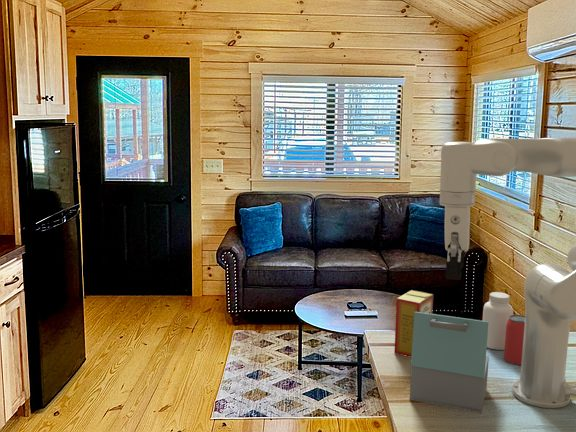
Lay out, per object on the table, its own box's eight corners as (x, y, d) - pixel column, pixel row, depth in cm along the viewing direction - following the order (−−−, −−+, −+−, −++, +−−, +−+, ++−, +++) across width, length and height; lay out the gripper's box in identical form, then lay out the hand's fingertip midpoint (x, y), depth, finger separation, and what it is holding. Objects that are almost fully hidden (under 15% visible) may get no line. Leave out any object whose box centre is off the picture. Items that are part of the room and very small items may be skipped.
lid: (488, 321, 132) (486, 326, 127) (484, 377, 133) (482, 384, 128) (414, 311, 138) (410, 316, 133) (411, 364, 139) (407, 371, 134)
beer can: (504, 364, 160) (508, 321, 158) (502, 354, 166) (505, 312, 164) (531, 367, 158) (535, 323, 156) (528, 357, 165) (531, 315, 162)
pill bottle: (512, 351, 168) (516, 300, 165) (482, 349, 170) (485, 298, 167) (508, 341, 176) (512, 291, 173) (479, 338, 177) (482, 289, 174)
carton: (486, 390, 145) (488, 356, 144) (481, 413, 134) (484, 377, 133) (419, 378, 151) (421, 345, 150) (409, 399, 140) (411, 364, 139)
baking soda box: (416, 358, 163) (419, 301, 160) (394, 352, 167) (396, 297, 164) (430, 347, 171) (433, 293, 168) (409, 342, 174) (411, 288, 171)
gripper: (473, 205, 124) (470, 285, 128) (476, 193, 141) (473, 264, 144) (436, 204, 127) (434, 282, 130) (443, 192, 143) (441, 262, 146)
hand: (454, 273), depth 137 cm, fingers open, 9 cm apart
